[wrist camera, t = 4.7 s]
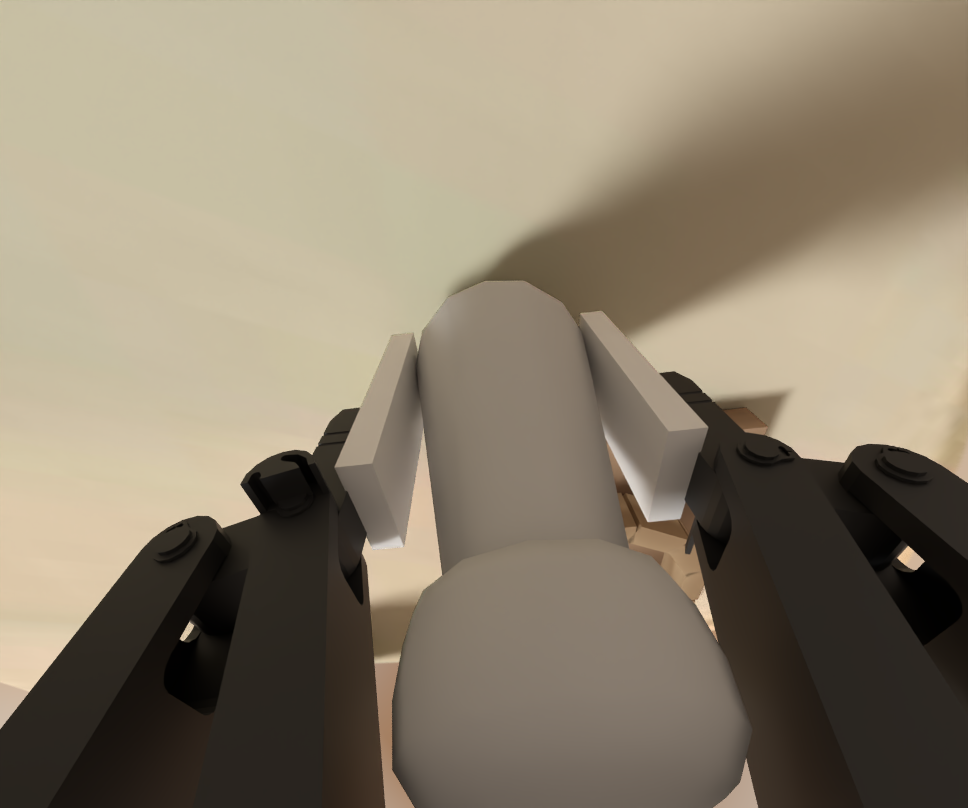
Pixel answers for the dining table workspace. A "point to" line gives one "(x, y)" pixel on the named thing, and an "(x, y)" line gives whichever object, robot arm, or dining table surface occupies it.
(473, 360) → the salt shaker
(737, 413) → the cruet board
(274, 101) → the dining table surface
